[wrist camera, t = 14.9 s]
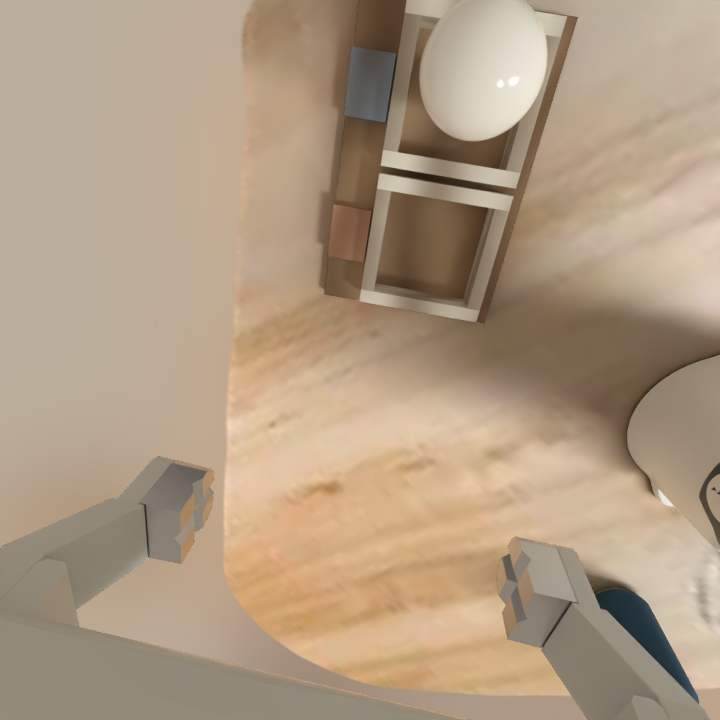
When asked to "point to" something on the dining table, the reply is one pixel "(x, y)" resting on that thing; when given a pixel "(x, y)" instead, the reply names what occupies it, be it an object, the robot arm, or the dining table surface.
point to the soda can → (644, 630)
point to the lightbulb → (483, 67)
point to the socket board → (425, 174)
